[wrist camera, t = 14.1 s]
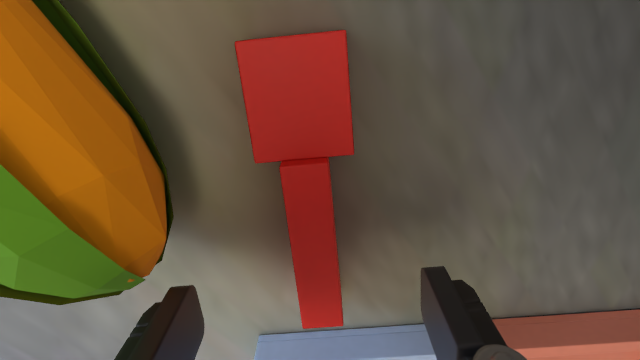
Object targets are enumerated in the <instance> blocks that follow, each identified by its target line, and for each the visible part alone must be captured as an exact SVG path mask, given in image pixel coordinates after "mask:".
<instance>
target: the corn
mask: <svg viewBox="0 0 640 360" xmlns="http://www.w3.org/2000/svg"><path fill="white" fill-rule="evenodd" d="M173 217H174V216H173V210H172V203H171V197H170V190H169V184H168V178H167V171H166V168H165V165H164V163H163V161H162V159H161V156H160V154H159V152H158V150H157V147H156V145H155V143H154V141H153V138H152V136H151V134H150V132H149V129H148V127H147V125H146V123H145V121H144V120H143V118H142V117H141V115H140V114H139V112H138V111H137V110H136V108H135V107H134V105H133V104H132V102H131V101H130V99H129V98H128V96H127V95H126V94H125V92H124V91H123V89H122V88H121V86H120V85H119V83H118V82H117V80H116V79H115V78H114V76H113V75H112V73H111V72H110V70H109V69H108V67H107V66H106V64H105V63H104V62H103V60H102V59H101V57H100V56H99V54H98V53H97V51H96V50H95V49H94V47H93V46H92V44H91V43H90V41H89V40H88V38H87V37H86V35H85V34H84V33H83V31H82V30H81V28H80V27H79V25H78V24H77V23H76V21H75V20H74V19H73V18H72V17H71V15H70V14H69V13H68V12H67V11H66V10H65V8H64V7H63V6H62V5H61V4H60V2H59V1H58V0H0V297H7V298H14V299H21V300H28V301H35V302H42V303H49V304H56V305H63V304H69V303H74V302H80V301H86V300H92V299H97V298H103V297H109V296H114V295H119V294H121V293H122V292H123V291H124V290H128V289H131V288H133V287H135V286H136V285H138V284H139V283H141V282H143V281H144V280H145V279H143V277H145V276H147V275H149V274H150V272H151V271H152V269H153V268H154V266H155V265H156V264H157V263H159V262H160V261H161V260H162V257H163V254H164V250H165V246H166V243H167V239H168V235H169V232H170V228H171V224H172V221H173Z"/></svg>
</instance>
